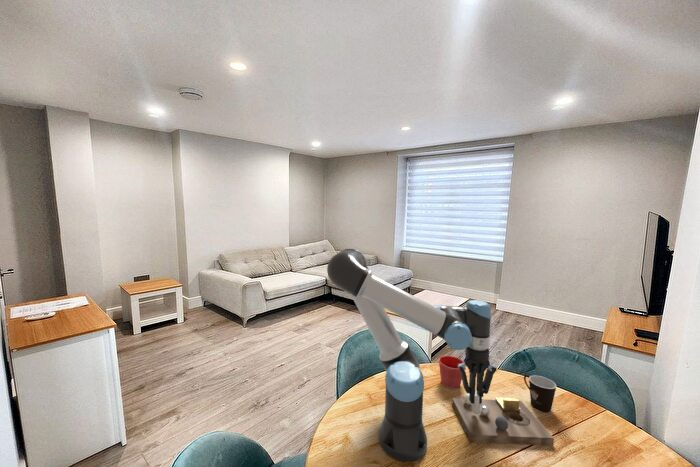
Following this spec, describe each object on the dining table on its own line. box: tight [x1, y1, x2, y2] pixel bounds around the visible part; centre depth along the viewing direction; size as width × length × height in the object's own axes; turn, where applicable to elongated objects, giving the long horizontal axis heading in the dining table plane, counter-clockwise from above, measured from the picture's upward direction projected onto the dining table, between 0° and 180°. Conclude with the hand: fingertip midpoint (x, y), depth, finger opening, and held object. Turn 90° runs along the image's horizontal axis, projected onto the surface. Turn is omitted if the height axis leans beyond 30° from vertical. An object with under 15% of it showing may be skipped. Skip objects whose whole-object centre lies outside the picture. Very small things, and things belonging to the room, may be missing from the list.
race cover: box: [494, 397, 520, 411], centre depth 104 cm, size 6×6×4 cm
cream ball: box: [463, 392, 472, 405], centre depth 105 cm, size 4×4×4 cm
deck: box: [451, 397, 555, 446], centre depth 99 cm, size 26×18×2 cm
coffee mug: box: [523, 374, 557, 414], centre depth 109 cm, size 12×9×10 cm
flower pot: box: [438, 355, 464, 389], centre depth 122 cm, size 11×11×10 cm
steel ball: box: [479, 405, 490, 417], centre depth 99 cm, size 3×3×3 cm
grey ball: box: [495, 417, 508, 430], centre depth 93 cm, size 4×4×4 cm
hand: (475, 411), depth 99 cm, fingers closed
